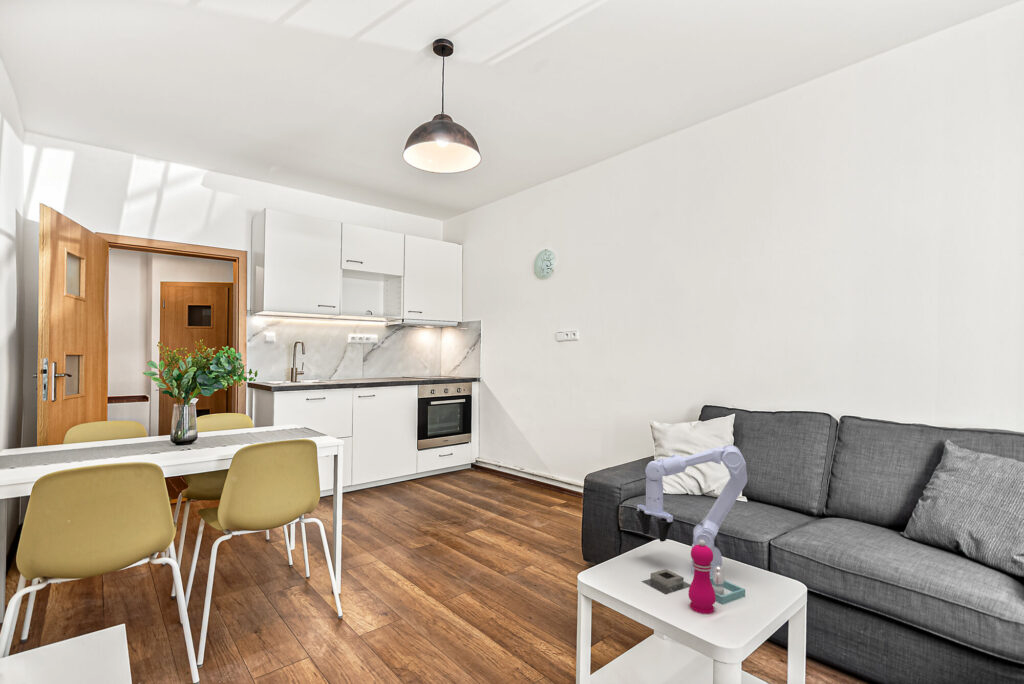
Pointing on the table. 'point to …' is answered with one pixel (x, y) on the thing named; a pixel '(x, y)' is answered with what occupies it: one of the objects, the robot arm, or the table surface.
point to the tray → (734, 595)
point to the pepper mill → (702, 580)
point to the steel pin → (718, 580)
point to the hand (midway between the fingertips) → (654, 537)
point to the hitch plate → (666, 581)
